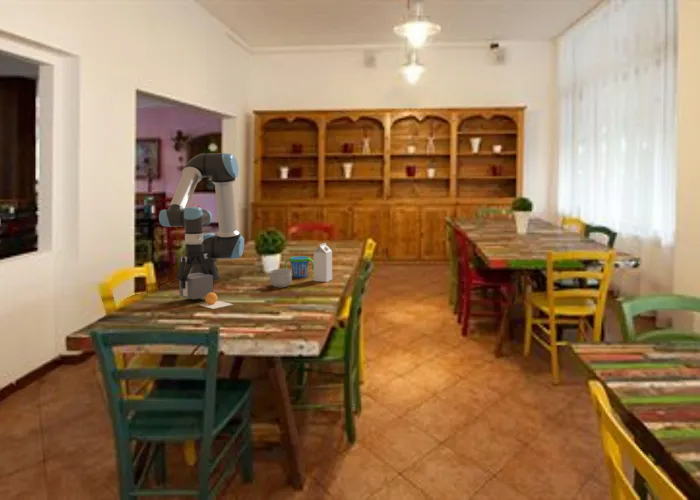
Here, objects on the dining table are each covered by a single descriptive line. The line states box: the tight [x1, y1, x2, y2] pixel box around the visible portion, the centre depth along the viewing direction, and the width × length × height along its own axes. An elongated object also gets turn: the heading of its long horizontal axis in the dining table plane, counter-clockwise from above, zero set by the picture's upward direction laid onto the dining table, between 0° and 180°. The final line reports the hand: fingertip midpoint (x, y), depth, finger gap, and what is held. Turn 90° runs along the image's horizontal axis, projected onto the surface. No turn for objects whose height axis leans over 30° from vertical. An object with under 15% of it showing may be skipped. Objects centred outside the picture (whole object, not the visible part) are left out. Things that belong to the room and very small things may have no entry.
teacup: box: [268, 268, 293, 289], centre depth 282 cm, size 14×11×8 cm
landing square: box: [199, 300, 234, 310], centre depth 243 cm, size 10×10×1 cm
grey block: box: [178, 273, 214, 300], centre depth 252 cm, size 10×10×9 cm
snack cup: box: [284, 255, 314, 278], centre depth 306 cm, size 16×10×10 cm
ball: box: [204, 291, 218, 304], centre depth 245 cm, size 5×5×5 cm
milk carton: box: [313, 242, 333, 283], centre depth 295 cm, size 7×7×19 cm
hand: (196, 293), depth 252 cm, fingers closed on grey block, 10 cm apart
